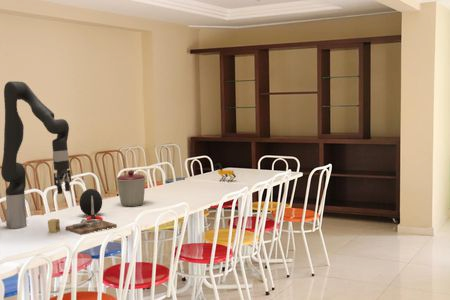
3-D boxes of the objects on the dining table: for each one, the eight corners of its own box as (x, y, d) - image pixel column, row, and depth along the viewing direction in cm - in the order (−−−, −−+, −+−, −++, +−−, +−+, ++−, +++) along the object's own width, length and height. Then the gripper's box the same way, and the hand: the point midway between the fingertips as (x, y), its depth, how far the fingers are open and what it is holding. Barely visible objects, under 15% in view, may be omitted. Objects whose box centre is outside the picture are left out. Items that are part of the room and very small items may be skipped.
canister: (141, 208, 349) (139, 172, 347) (112, 207, 352) (110, 172, 350) (151, 202, 366) (149, 168, 364) (123, 201, 370) (121, 168, 368)
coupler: (56, 232, 294) (55, 220, 293) (48, 232, 295) (48, 220, 294) (60, 230, 298) (59, 219, 297) (52, 230, 299) (52, 218, 298)
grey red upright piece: (104, 221, 318) (100, 217, 326) (103, 198, 316) (99, 194, 324) (88, 223, 314) (85, 219, 323) (87, 199, 312) (83, 196, 321)
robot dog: (216, 179, 447) (215, 162, 445) (236, 181, 437) (235, 163, 435) (212, 181, 442) (211, 163, 441) (232, 182, 432) (231, 164, 430)
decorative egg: (76, 215, 333) (74, 189, 332) (96, 212, 341) (94, 186, 339) (86, 218, 324) (85, 191, 322) (107, 215, 332) (105, 188, 330)
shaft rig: (81, 234, 288) (80, 227, 288) (65, 229, 300) (65, 222, 300) (116, 227, 302) (116, 220, 301) (100, 222, 314) (100, 215, 313)
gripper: (60, 158, 301) (63, 190, 302) (47, 161, 287) (50, 195, 288) (74, 158, 300) (77, 190, 301) (61, 160, 286) (64, 194, 287)
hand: (63, 192), depth 295 cm, fingers open, 8 cm apart
